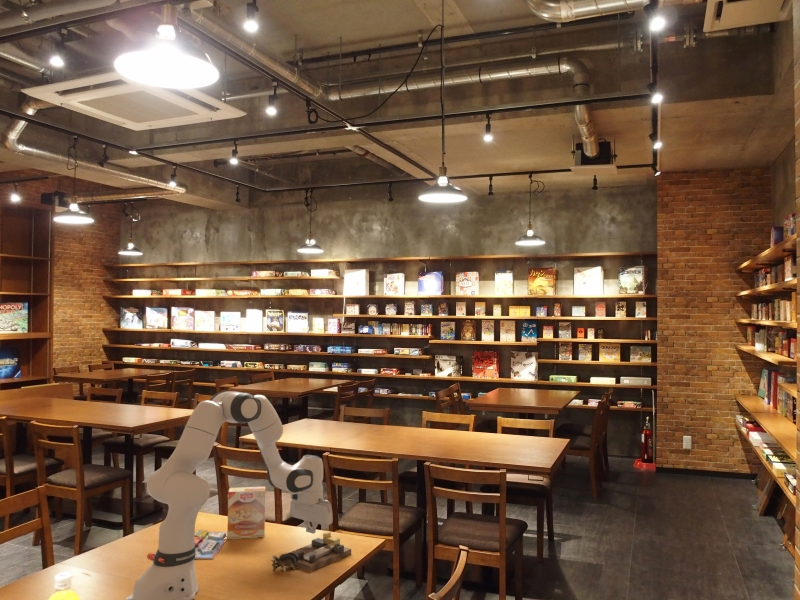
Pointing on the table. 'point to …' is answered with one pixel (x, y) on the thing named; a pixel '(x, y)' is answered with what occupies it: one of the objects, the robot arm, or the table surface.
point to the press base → (321, 561)
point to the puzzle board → (208, 543)
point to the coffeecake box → (246, 512)
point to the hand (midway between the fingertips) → (310, 532)
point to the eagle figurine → (285, 561)
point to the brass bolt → (330, 539)
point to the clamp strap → (319, 552)
